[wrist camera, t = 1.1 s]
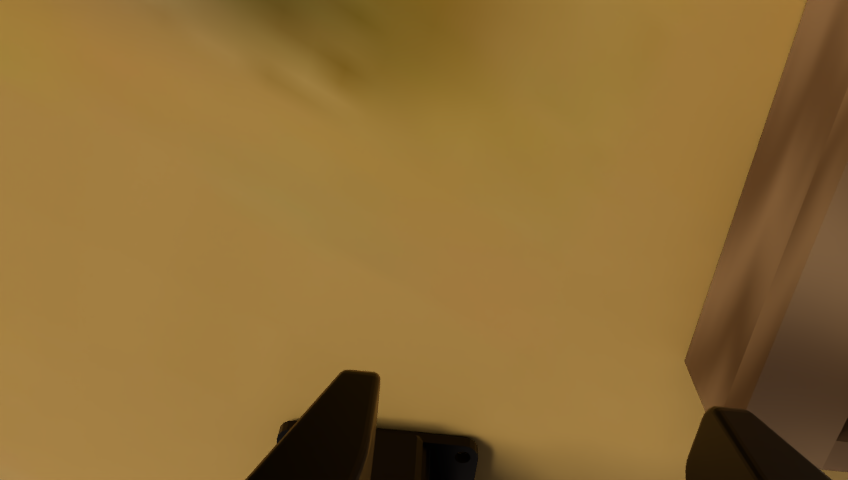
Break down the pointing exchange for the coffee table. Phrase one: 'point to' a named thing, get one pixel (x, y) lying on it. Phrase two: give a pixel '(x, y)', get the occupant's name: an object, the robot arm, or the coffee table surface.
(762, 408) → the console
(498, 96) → the coffee table surface
